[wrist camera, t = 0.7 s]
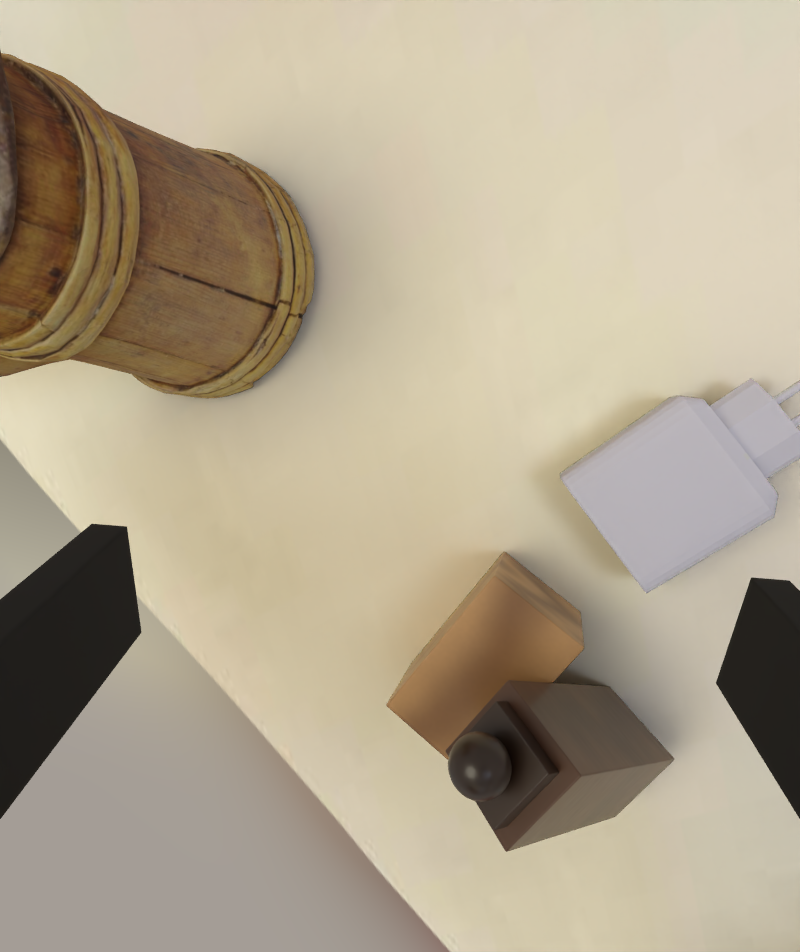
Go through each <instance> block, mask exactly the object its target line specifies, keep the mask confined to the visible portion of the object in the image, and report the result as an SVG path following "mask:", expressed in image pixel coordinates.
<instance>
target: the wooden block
mask: <svg viewBox="0 0 800 952" xmlns="http://www.w3.org/2000/svg"><path fill="white" fill-rule="evenodd" d="M583 649H584V640H583V631H582V622H581V613H580V611H579V610H577V609H576V608H575V607H574V606H572V605H571V604H570V603H569V602H567V601H566V600H565V599H564V598H562V597H561V596H560V595H558V594H557V593H556V592H555V591H553V590H552V589H551V588H550V587H548V586H547V585H546V584H545V583H543V582H542V581H541V580H540V579H538V578H537V577H536V576H535V575H533V574H532V573H531V572H530V571H528V570H527V569H526V568H525V567H523V566H522V565H521V564H520V563H518V562H517V561H516V560H515V559H513V558H512V557H511V556H510V555H508V554H507V553H506V552H503V553H502V554H501V556H500V557H499V558H498V559H497V560H496V562H495V563H494V564H493V565H492V567H491V568H490V569H489V570H488V571H487V573H486V574H485V575H484V576H483V577H482V579H481V580H480V581H479V582H478V583H477V585H476V586H475V587H474V588H473V589H472V591H471V592H470V593H469V594H468V595H467V597H466V598H465V599H464V600H463V602H462V603H461V604H460V605H459V606H458V608H457V609H456V610H455V611H454V612H453V614H452V615H451V616H450V617H449V618H448V620H447V621H446V622H445V623H444V624H443V626H442V627H441V628H440V629H439V630H438V632H437V633H436V634H435V635H434V637H433V638H432V639H431V640H430V641H429V643H428V644H427V645H426V646H425V647H424V649H423V650H422V651H421V652H420V653H419V655H418V656H417V657H416V658H415V659H414V661H413V662H412V663H411V665H410V666H409V668H408V670H407V671H406V673H405V674H404V676H403V678H402V679H401V681H400V683H399V684H398V686H397V688H396V689H395V691H394V693H393V694H392V696H391V698H390V699H389V701H388V703H387V707H389V708H390V709H391V710H392V711H393V712H394V713H395V714H397V715H398V716H399V717H400V718H401V719H402V720H403V721H404V722H406V723H407V724H408V725H409V726H410V727H411V728H412V729H414V730H415V731H416V732H417V733H418V734H419V735H420V736H421V737H423V738H424V739H425V740H426V741H427V742H428V743H429V744H431V745H432V746H433V747H434V748H435V749H436V750H437V751H439V752H440V753H441V754H442V755H443V756H444V757H445V758H446V759H449V757H448V755H447V754H446V752H445V750H446V749H447V748H448V747H449V746H450V745H451V743H452V742H453V741H454V740H455V739H456V738H457V737H458V736H459V735H460V733H461V732H462V731H463V730H464V729H465V728H466V727H467V726H468V724H469V723H470V722H471V721H472V720H473V719H474V718H475V717H476V715H477V714H478V713H479V712H480V711H481V710H482V709H483V708H484V706H485V705H486V704H487V703H488V702H489V701H490V700H491V699H492V698H493V696H494V695H495V694H496V693H497V692H498V691H499V690H500V689H501V687H502V686H503V685H504V684H505V683H506V682H507V681H508V680H515V681H531V682H546V683H553V682H554V681H555V680H556V679H557V678H558V677H559V675H560V674H561V673H562V672H563V671H564V670H565V669H566V668H567V667H568V666H569V665H570V664H571V662H572V661H573V660H574V659H575V658H576V657H577V656H578V655H579V654H580V653H581V652H582V650H583Z"/></svg>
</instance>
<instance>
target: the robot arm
mask: <svg viewBox="0 0 800 952" xmlns="http://www.w3.org/2000/svg"><path fill="white" fill-rule="evenodd" d="M140 633H141V626H140V619H139V612H138V604H137V597H136V590H135V583H134V575H133V568H132V561H131V554H130V546H129V539H128V532H127V527H124V526H112V525H99V524H91V525H90V526H89V527H88V528H86V529H85V530H84V531H83V532H81V533H80V534H79V535H78V536H77V537H75V538H74V539H73V540H72V541H71V542H69V543H68V544H67V545H66V546H64V547H63V548H62V549H61V550H60V551H58V552H57V553H56V554H55V555H54V556H52V557H51V558H50V559H49V560H48V561H46V562H45V563H44V564H43V565H41V567H39V568H38V569H37V570H35V571H34V572H33V573H32V574H31V575H30V576H28V577H27V578H26V579H25V580H23V581H22V582H21V583H20V584H18V585H17V586H16V587H15V588H14V589H12V590H11V591H10V592H9V593H8V594H6V595H5V596H4V597H3V598H2V599H0V819H1V818H2V816H3V815H4V813H5V812H6V811H7V809H8V808H9V807H10V805H11V804H12V803H13V802H14V800H15V799H16V797H17V796H18V795H19V794H20V792H21V791H22V790H23V788H24V787H25V786H26V784H27V783H28V782H29V780H30V779H31V778H32V776H33V775H34V774H35V772H36V771H37V770H38V768H39V767H40V766H41V764H42V763H43V762H44V761H45V759H46V758H47V757H48V755H49V754H50V753H51V751H52V750H53V749H54V747H55V746H56V745H57V743H58V742H59V741H60V739H61V738H62V737H63V735H64V734H65V733H66V731H67V730H68V729H69V727H70V726H71V725H72V723H73V722H74V721H75V720H76V718H77V717H78V715H79V714H80V713H81V712H82V710H83V709H84V708H85V706H86V705H87V704H88V702H89V701H90V700H91V698H92V697H93V696H94V694H95V693H96V692H97V690H98V689H99V688H100V686H101V685H102V684H103V682H104V681H105V680H106V678H107V677H108V676H109V674H110V673H111V672H112V670H113V669H114V668H115V667H116V665H117V664H118V662H119V661H120V660H121V659H122V657H123V656H124V655H125V653H126V652H127V651H128V649H129V648H130V647H131V645H132V644H133V643H134V641H135V640H136V639H137V637H138V636H139V635H140ZM716 684H717V685H718V687H719V689H720V690H721V692H722V694H723V695H724V697H725V698H726V700H727V702H728V703H729V705H730V707H731V708H732V710H733V711H734V713H735V715H736V716H737V718H738V720H739V721H740V723H741V724H742V726H743V728H744V729H745V731H746V732H747V734H748V736H749V737H750V739H751V741H752V742H753V744H754V745H755V747H756V749H757V750H758V752H759V754H760V755H761V757H762V758H763V760H764V762H765V763H766V765H767V767H768V768H769V770H770V771H771V773H772V775H773V776H774V778H775V780H776V781H777V783H778V784H779V786H780V788H781V789H782V791H783V792H784V794H785V796H786V797H787V799H788V801H789V802H790V804H791V805H792V807H793V809H794V810H795V812H796V814H797V815H798V817H799V818H800V591H799V590H798V589H797V588H796V587H795V586H794V585H793V584H792V583H791V582H790V581H787V580H774V579H762V578H751V580H750V583H749V586H748V589H747V592H746V595H745V598H744V601H743V604H742V607H741V610H740V613H739V616H738V619H737V622H736V625H735V628H734V631H733V634H732V637H731V640H730V643H729V646H728V649H727V652H726V655H725V658H724V661H723V664H722V667H721V670H720V673H719V676H718V679H717V682H716Z"/></svg>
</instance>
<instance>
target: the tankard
mask: <svg viewBox="0 0 800 952" xmlns="http://www.w3.org/2000/svg"><path fill="white" fill-rule="evenodd" d="M313 290H314V255H313V251H312V248H311V245H310V241H309V238H308V235H307V232H306V229H305V226H304V223H303V220H302V219H301V217H300V215H299V213H298V211H297V208H296V206H295V205H294V203H293V201H292V199H291V198H290V196H289V195H288V194H287V193H286V192H285V190H284V189H283V188H282V187H281V186H280V185H279V184H278V183H277V182H275V181H274V180H273V179H272V178H271V177H270V176H268V175H267V174H266V173H265V172H263V171H262V170H260V169H258V168H257V167H255V166H253V165H251V164H250V163H248V162H246V161H244V160H242V159H240V158H238V157H236V156H234V155H233V154H230V153H224V152H220V151H217V150H209V149H200V148H196V149H194V148H192V147H189V146H187V145H185V144H182V143H180V142H177V141H175V140H173V139H170V138H168V137H165V136H163V135H160V134H158V133H156V132H154V131H151V130H149V129H147V128H144V127H142V126H140V125H137V124H135V123H133V122H131V121H128V120H126V119H124V118H122V117H119V116H117V115H115V114H113V113H110V112H108V111H106V110H104V109H102V108H101V107H100V106H99V105H98V104H97V103H96V102H95V101H94V100H93V99H92V98H90V97H89V96H88V95H87V94H86V93H85V92H84V91H82V90H81V89H80V88H79V87H77V86H76V85H75V84H73V83H72V82H70V81H69V80H67V79H66V78H64V77H63V76H61V75H58V74H56V73H53V72H51V71H48V70H46V69H43V68H41V67H38V66H36V65H33V64H31V63H27V62H24V61H22V60H20V59H18V58H16V57H14V56H12V55H9V54H3V53H1V51H0V377H1V376H8V375H11V374H14V373H18V372H21V371H25V370H28V369H31V368H35V367H38V366H42V365H45V364H49V363H54V362H59V361H64V360H69V359H71V360H76V361H81V362H86V363H90V364H94V365H98V366H102V367H106V368H110V369H114V370H118V371H122V372H126V373H129V374H132V375H133V376H134V377H135V378H137V379H138V380H139V381H140V382H142V383H144V384H145V385H147V386H149V387H151V388H153V389H156V390H158V391H161V392H163V393H169V394H178V395H184V396H190V397H199V398H218V397H224V396H229V395H232V394H235V393H238V392H241V391H244V390H246V389H249V388H251V387H253V382H254V381H256V380H258V379H260V378H261V377H262V376H263V375H264V374H266V373H267V372H268V371H269V370H270V369H272V368H273V367H274V366H275V365H276V364H277V363H278V362H279V360H280V359H281V358H282V357H283V356H284V355H285V353H286V352H287V351H288V349H289V347H290V346H291V344H292V342H293V340H294V338H295V336H296V334H297V332H298V330H299V328H300V325H301V323H302V316H303V314H304V313H305V312H306V308H307V305H308V304H309V303H310V302H311V299H312V294H313Z"/></svg>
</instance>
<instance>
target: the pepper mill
mask: <svg viewBox="0 0 800 952" xmlns="http://www.w3.org/2000/svg"><path fill="white" fill-rule="evenodd" d="M445 752H446V754H447V755H448V757H449V759H448V770H449V775H450V778H451V780H452V782H453V784H454V786H455V787H456V789H457V790H458V791H459V792H460V793H461V794H462V795H464V796H465V797H467V798H469V799H471V800H474V801H476V803H477V805H478V806H479V808H480V810H481V811H482V813H483V815H484V816H485V818H486V820H487V821H488V823H489V825H490V826H491V828H492V829H493V831H494V833H495V834H496V836H497V838H498V839H499V841H500V843H501V844H502V846H503V848H504V849H505V851H506V852H507V851H510V850H513V849H516V848H520V847H523V846H526V845H529V844H532V843H535V842H538V841H541V840H545V839H548V838H551V837H554V836H557V835H560V834H563V833H566V832H569V831H573V830H576V829H579V828H582V827H585V826H588V825H591V824H594V823H597V822H601V821H604V820H607V819H610V818H613V817H615V816H616V815H617V814H619V813H620V812H621V811H622V810H623V809H624V808H625V807H626V806H627V805H628V804H629V803H630V802H631V801H632V800H633V799H634V798H635V797H636V796H637V795H638V794H639V793H640V792H641V791H642V790H643V789H644V788H645V787H646V786H648V785H649V784H650V783H651V782H652V781H653V780H654V779H655V778H656V777H657V776H658V775H659V774H660V773H661V772H662V771H663V770H664V769H665V768H666V767H667V766H668V765H669V764H670V763H671V762H672V761H673V760H674V758H673V757H672V756H671V754H670V753H669V752H668V751H667V750H666V749H665V748H664V747H663V746H662V744H661V743H660V742H659V741H658V740H657V739H656V738H655V737H654V736H653V734H652V733H651V732H650V731H649V730H648V729H647V728H646V727H645V726H644V724H643V723H642V722H641V721H640V720H639V719H638V718H637V717H636V715H635V714H634V713H633V712H632V711H631V710H630V709H629V708H628V707H627V705H626V704H625V703H624V702H623V701H622V700H621V699H620V698H619V697H618V695H617V694H616V693H615V692H614V691H613V690H612V689H611V688H610V687H607V686H592V685H576V684H561V683H546V682H531V681H515V680H508V681H507V682H506V683H505V684H504V685H503V686H502V687H501V689H500V690H499V691H498V692H497V693H496V694H495V695H494V696H493V698H492V699H491V700H490V701H489V702H488V703H487V704H486V705H485V706H484V708H483V709H482V710H481V711H480V712H479V713H478V714H477V715H476V717H475V718H474V719H473V720H472V721H471V722H470V723H469V724H468V726H467V727H466V728H465V729H464V730H463V731H462V732H461V733H460V735H459V736H458V737H457V738H456V739H455V740H454V741H453V742H452V743H451V745H450V746H449V747H448V748H447V749H446V750H445Z"/></svg>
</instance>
